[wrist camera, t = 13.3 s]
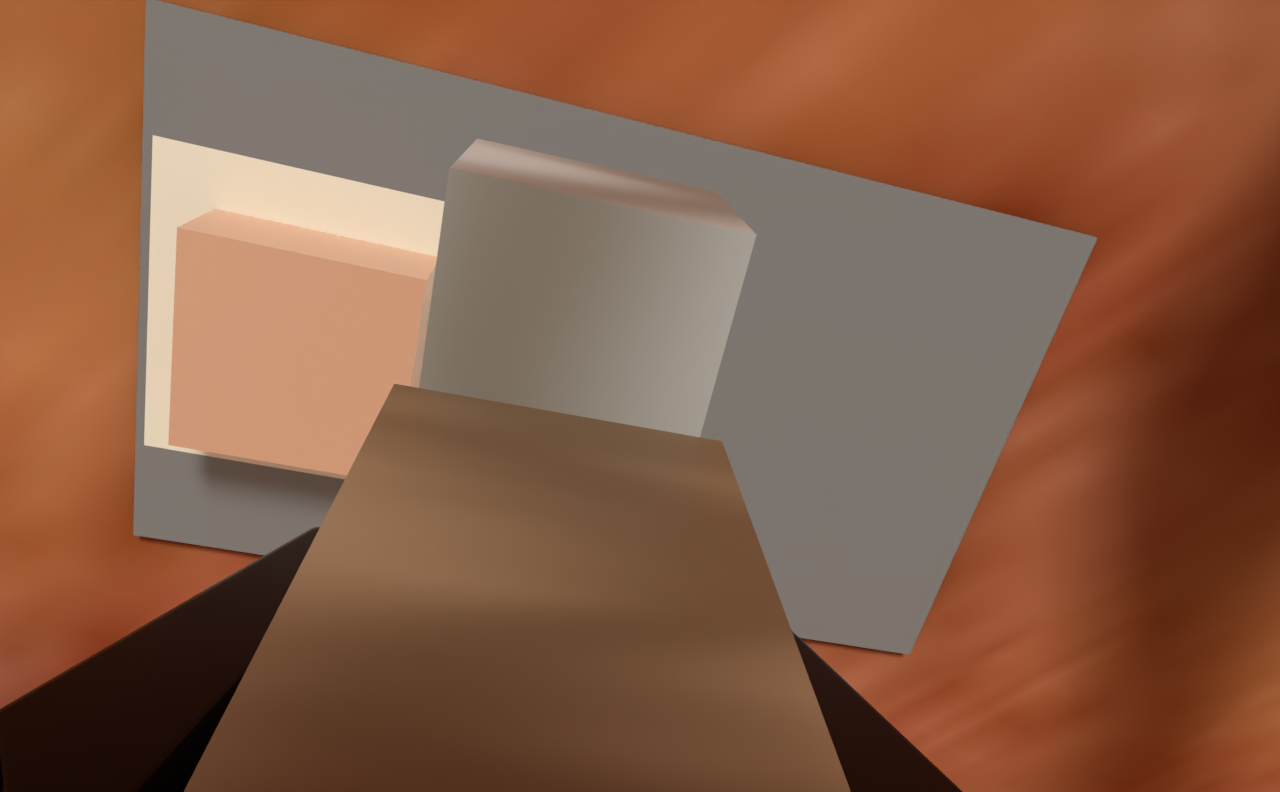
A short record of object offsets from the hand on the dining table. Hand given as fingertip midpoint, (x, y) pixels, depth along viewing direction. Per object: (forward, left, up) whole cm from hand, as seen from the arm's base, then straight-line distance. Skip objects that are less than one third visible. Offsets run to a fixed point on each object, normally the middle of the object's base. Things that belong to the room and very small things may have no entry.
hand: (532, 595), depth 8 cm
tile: (+5, +3, -13) cm, 14 cm away
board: (-2, +3, -13) cm, 13 cm away
